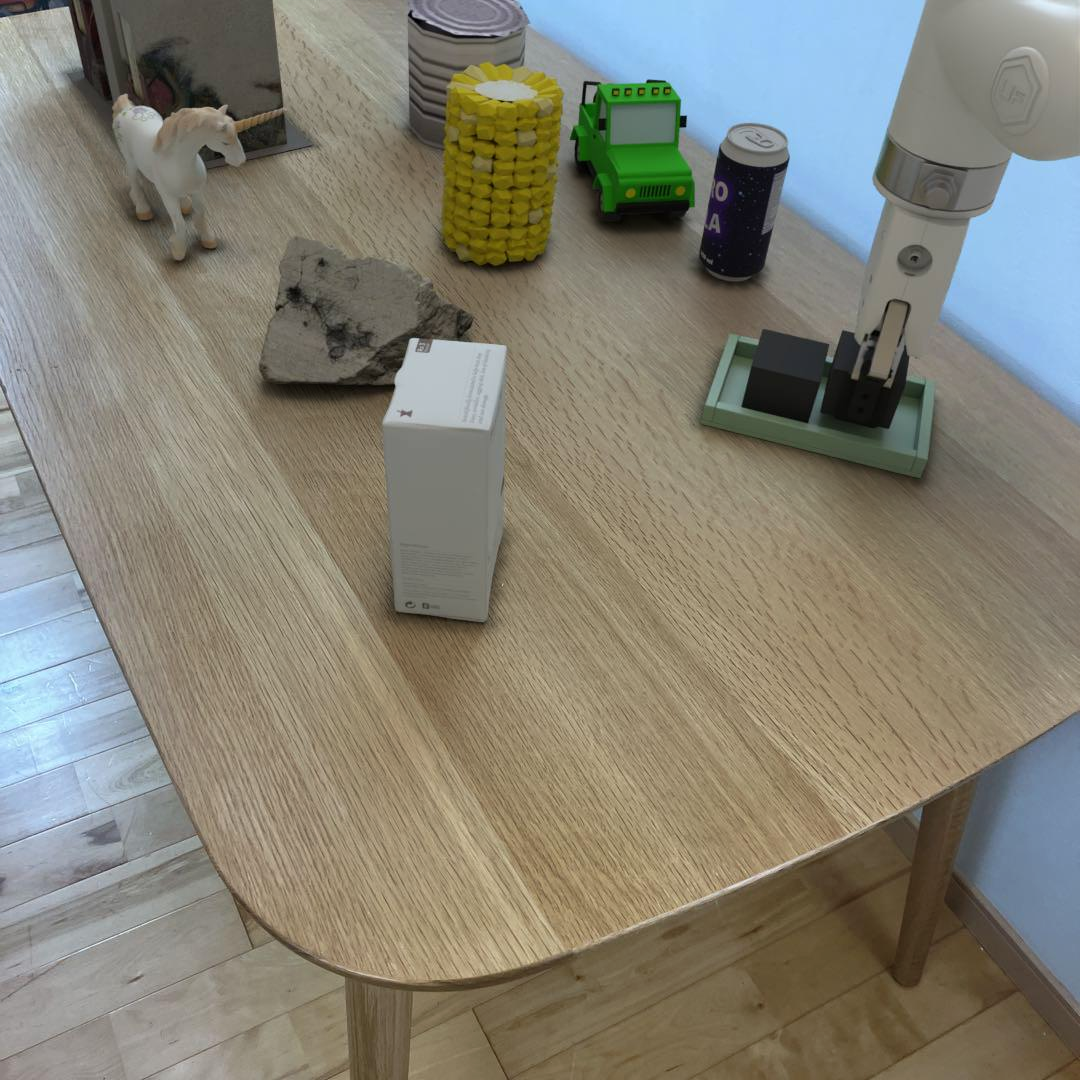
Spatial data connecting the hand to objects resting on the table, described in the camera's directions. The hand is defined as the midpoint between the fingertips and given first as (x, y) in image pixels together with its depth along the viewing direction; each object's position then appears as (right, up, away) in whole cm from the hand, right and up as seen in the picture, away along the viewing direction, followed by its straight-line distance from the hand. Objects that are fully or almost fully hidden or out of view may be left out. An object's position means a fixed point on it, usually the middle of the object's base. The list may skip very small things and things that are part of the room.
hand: (860, 396), depth 82 cm
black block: (-6, 0, +2) cm, 6 cm away
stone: (-37, +4, +4) cm, 37 cm away
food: (-27, +16, +16) cm, 35 cm away
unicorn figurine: (-52, +16, +14) cm, 56 cm away
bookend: (-59, +32, +30) cm, 73 cm away
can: (-31, +31, +31) cm, 53 cm away
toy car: (-15, +23, +24) cm, 37 cm away
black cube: (0, 0, 0) cm, 0 cm away
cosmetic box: (-29, -12, -11) cm, 34 cm away
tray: (-3, -1, +2) cm, 3 cm away
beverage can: (-7, +13, +15) cm, 21 cm away
